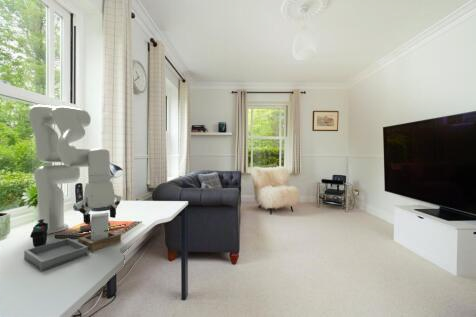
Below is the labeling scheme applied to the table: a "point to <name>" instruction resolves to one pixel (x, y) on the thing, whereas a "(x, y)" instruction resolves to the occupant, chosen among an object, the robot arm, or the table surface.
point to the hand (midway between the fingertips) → (100, 220)
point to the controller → (39, 233)
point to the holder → (100, 241)
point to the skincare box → (99, 226)
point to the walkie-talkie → (88, 227)
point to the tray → (55, 253)
